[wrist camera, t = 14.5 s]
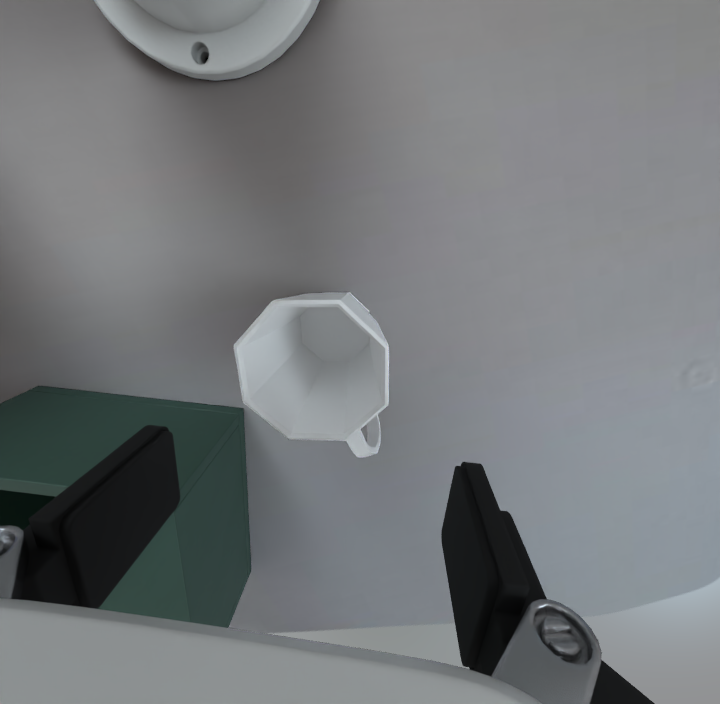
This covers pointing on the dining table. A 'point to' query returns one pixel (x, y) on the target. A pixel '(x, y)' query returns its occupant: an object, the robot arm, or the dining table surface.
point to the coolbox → (104, 435)
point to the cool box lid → (153, 581)
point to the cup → (317, 369)
